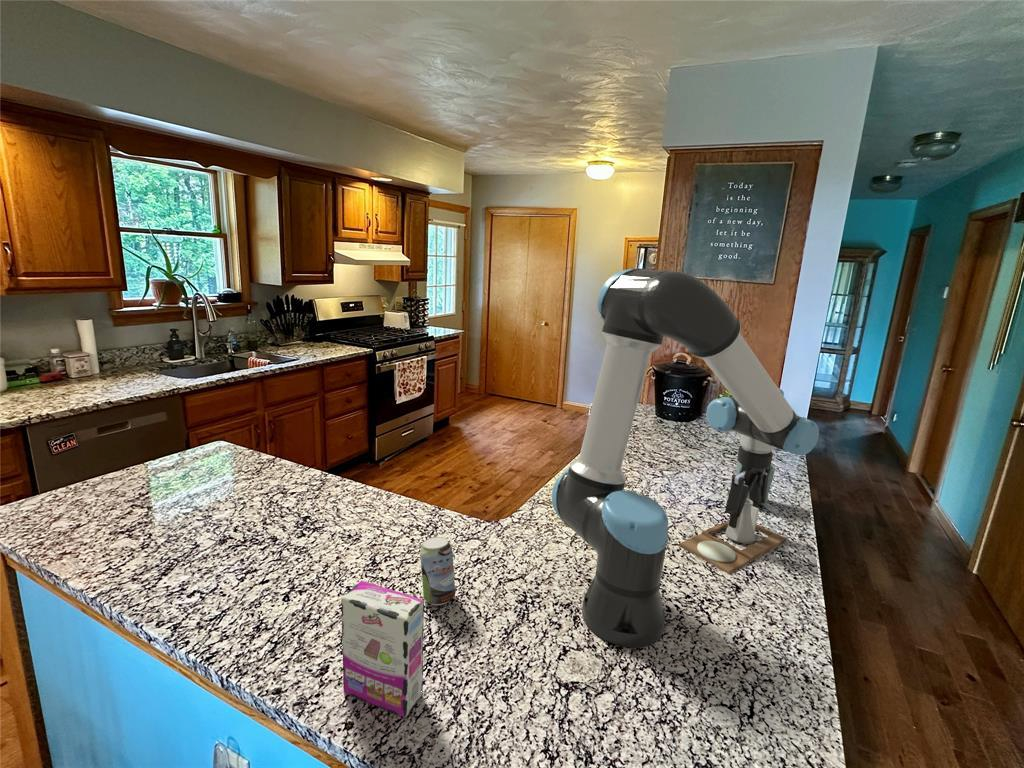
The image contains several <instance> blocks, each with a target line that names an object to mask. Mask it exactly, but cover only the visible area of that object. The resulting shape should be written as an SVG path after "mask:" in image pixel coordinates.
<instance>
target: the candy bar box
mask: <svg viewBox="0 0 1024 768" xmlns="http://www.w3.org/2000/svg"><path fill="white" fill-rule="evenodd" d="M340 601H341V632H342V633H341V637H342V638H341V640H342V641H341V642H342V643H341V644H342V674H343V675H342V677H343V678H342V681H343V684H342V685H343V687H342V688H343V693H345V694H346V695H349V696H350V697H353V698H356V699H358V700H361V701H363V702H365V703H368V704H371V705H373V706H376V707H379V708H380V709H383V710H385V711H388V712H390V713H392V714H395V715H396V716H397V715H398V716H399V717H402V718H405V719H406V718H407V717H408V716H409V714H410V713H411V712H412V710H413V708H414V707H415V705H416V704H417V703H418V702H419V700H420V698H421V697H422V696H423V689H424V688H423V684H424V683H423V682H424V681H423V680H424V679H423V678H424V677H423V676H424V675H423V674H424V630H425V629H424V626H425V625H424V624H425V623H424V622H425V614H424V613H425V600H424V598H423V599H422V598H419V597H416V596H413V595H410V594H406V593H402V592H399V591H396V590H393V589H390V588H387V587H384V586H381V585H378V584H374V583H371V582H368V581H366V580H361V581H359V582H358V583H357V584H355V586H353V587H352V588H351V589H350V590H349V591H348V592H346V593H345V594H344V595H343V596H342V597H341V598H340ZM421 691H422V692H421Z"/></svg>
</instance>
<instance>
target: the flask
mask: <svg viewBox="0 0 1024 768" xmlns="http://www.w3.org/2000/svg"><path fill="white" fill-rule="evenodd" d="M752 505H753V501H752V500H750V499H746V501H745V504H744V507H743V509H742V512H741V516H742V521H741V526H740V532H739V537H738V540H737V541H735V540H733V539H731V538H729V540H730V541H734V542H736V543H741V544H748V545H749V544H750V545H753V544H755V543H756V542H755V541H756V534H755V532H754V529H753V525H752V519H751V506H752ZM725 529H726V530H725V532H724V533H725V535H726V534H727V529H728V527H727V528H725Z"/></svg>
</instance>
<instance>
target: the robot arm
mask: <svg viewBox="0 0 1024 768" xmlns="http://www.w3.org/2000/svg"><path fill="white" fill-rule="evenodd" d="M598 293H599V294H598V297H597V312H598V313H599V317H600V318H601V320H602V321H603V325H602V326H603V327H602V329H601V330H602V331H601V335H602V337H603V339H604V340H605V341H606V346H605V350H604V353H603V359H602V363H601V367H600V371H599V375H598V377H597V378H598V379H597V383H596V387H595V391H594V396H593V401H592V403H591V408H590V411H589V417H588V420H587V423H586V429H585V432H584V436H583V441H582V445H581V449H580V453H579V456H578V458H576V459H574V460H572V461H570V463H569V466H568V468H566V469H565V470H564V471H563V472H562V475H561V476H558V477H557V478H556V479H555V481H554V484H553V487H552V490H551V504H552V507H553V510H554V512H555V513H556V515H557V517H559V518H560V520H561V521H562V522H563V524H564V525H566V526H567V527H568V528H569V529H571V530H572V531H573V532H574V533H575V534H577V535H578V536H579V537H580V538H581V539H582V540H583V541H584V542H585V543H587V545H589V546H590V547H591V548H592V549H593V550H594V551H595V552H596V554H597V555H596V556H597V557H596V559H597V560H596V565H595V566H596V569H595V575H594V576H593V579H592V580H591V583H590V584H589V587H588V588H587V590H586V592H585V595H584V596H583V600H582V607H581V616H582V618H583V621H584V623H585V625H586V626H587V628H589V630H590V631H591V632H592V633H594V635H596V636H597V637H599V638H601V640H604V641H606V642H609V643H610V644H613V645H616V646H620V647H625V648H643V647H648V646H650V645H653V644H655V643H656V642H658V641H659V640H660V639H661V638H662V636H663V633H664V629H665V623H666V614H665V611H664V607H663V602H662V596H661V592H660V591H661V590H660V589H661V587H660V586H661V580H662V575H663V574H662V573H663V569H664V563H665V556H666V551H667V544H668V542H669V541H668V539H669V519H668V515H667V513H666V511H665V509H664V508H663V507H662V506H661V505H660V504H659V503H658V502H657V501H656V500H654V499H653V498H651V497H649V496H647V495H645V494H639V493H638V492H635V491H630V490H625V489H624V488H625V487H626V483H627V482H626V481H627V477H626V475H625V473H624V472H623V470H622V466H623V462H624V459H625V455H626V450H627V448H628V447H627V446H628V443H629V439H630V435H631V431H632V427H633V424H634V420H635V415H636V412H637V409H638V405H639V404H638V403H639V402H640V396H641V394H642V389H643V386H644V381H645V378H646V373H647V369H648V366H649V361H650V358H651V354H652V353H653V352H654V351H656V350H658V349H660V348H661V347H662V345H663V342H664V341H663V340H664V338H667V339H670V340H672V341H675V342H677V343H679V344H680V345H682V346H683V347H684V348H686V349H687V351H688V352H689V353H690V354H691V356H693V357H696V358H698V359H702V360H703V361H704V362H705V364H706V365H707V366H708V367H709V369H710V371H712V373H713V374H714V375H715V376H716V377H717V379H718V380H719V381H720V383H721V384H722V385H723V386H724V387H725V389H726V390H727V391H728V393H729V394H730V395H731V396H729V397H728V396H724V397H720V398H715V399H713V400H711V402H709V404H708V405H707V406H706V414H705V415H706V417H705V418H706V421H707V423H708V425H709V426H710V428H712V429H713V430H715V431H717V432H725V433H726V432H730V431H732V432H735V433H738V434H741V435H740V440H739V445H740V446H739V447H738V450H737V457H736V459H737V460H738V461H739V462H740V463H741V465H742V467H741V470H740V472H739V475H736V473H735V474H732V476H731V483H730V484H731V485H730V489H729V493H728V497H727V502H726V506H725V510H724V512H725V513H726V514H729V518H728V520H729V523H728V527H727V528H728V529H727V528H726V529H727V534H725V536H726V537H727V538H728V539H730V538H731V539H733V540H735V541H734V542H736V541H737V540H738V537H739V532H740V526H741V521H742V516H741V512H742V509H743V507H744V504H745V501H746V499H747V496H748V493H749V499H750V500H752V501H753V505H752V506H751V519H752V525H753V529H754V533H755V532H756V529H755V527H756V524H757V521H758V516H759V512H760V511H759V510H760V509H758V508H761V510H763V509H764V508H765V507H764V505H762V504H764V503H765V500H766V492H767V484H768V477H769V474H770V470H771V469H770V468H769V467H770V466H771V464H772V462H773V456H774V453H773V451H774V450H775V448H776V449H778V450H782V451H783V452H785V453H787V452H788V453H790V454H793V455H796V456H804V455H807V454H809V453H810V452H812V450H813V449H814V447H815V446H816V444H817V443H818V440H819V436H820V435H819V434H820V432H819V431H820V430H819V429H820V428H819V427H818V424H817V423H816V422H815V421H813V420H811V419H808V418H806V417H805V416H803V417H802V416H800V415H798V414H797V413H796V412H795V411H794V409H793V408H792V406H791V405H790V403H789V401H788V400H787V399H786V397H785V392H784V391H783V390H782V388H780V387H778V386H777V385H776V383H775V382H774V380H773V379H772V377H771V376H770V375H769V373H768V372H767V370H766V369H765V368H764V366H763V365H762V363H761V362H760V360H759V358H758V357H757V356H756V355H755V353H754V351H753V350H752V348H751V347H750V346H749V344H748V343H747V342H746V340H745V339H744V337H743V336H742V334H741V331H742V324H741V322H740V320H739V319H738V317H737V316H736V315H735V313H734V312H733V310H732V309H731V308H730V306H729V305H728V303H726V302H725V301H724V300H723V298H722V297H721V296H720V295H719V294H718V293H717V292H716V291H715V290H714V289H712V288H711V287H710V286H709V285H707V284H706V283H705V281H703V280H702V279H700V278H698V277H696V276H695V275H692V274H690V273H688V272H686V271H685V272H684V271H680V270H664V269H663V270H662V269H649V268H632V269H629V268H628V269H623V270H619V271H617V272H615V273H614V274H613V275H611V276H610V277H609V278H608V279H607V280H606V281H604V284H603V285H602V287H601V289H600V290H599V292H598ZM737 460H736V461H737ZM744 485H747V486H748V487H747V486H744ZM761 497H762V498H761ZM761 503H762V504H761ZM731 539H730V540H731ZM733 540H732V541H733Z"/></svg>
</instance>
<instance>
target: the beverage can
mask: <svg viewBox="0 0 1024 768" xmlns="http://www.w3.org/2000/svg"><path fill="white" fill-rule="evenodd" d="M419 556H420V558H419V559H420V568H421V579H422V580H421V581H422V582H421V583H422V594H423V600H424V599H425V600H426V601H427V602H426V601H425V600H424V601H425V602H426V603H428V602H429V603H428V604H430V603H431V604H430V605H432V606H442V605H446V604H447V603H449V602H450V601H452V600H453V599H454V598H455V595H456V585H455V583H456V582H455V569H454V558H453V546H452V544H451V543H450V542H449V539H448V538H447V537H443V536H434V537H430V538H427V539H425V540H424V541H423V542H422V546H421V547H420V550H419Z"/></svg>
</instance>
